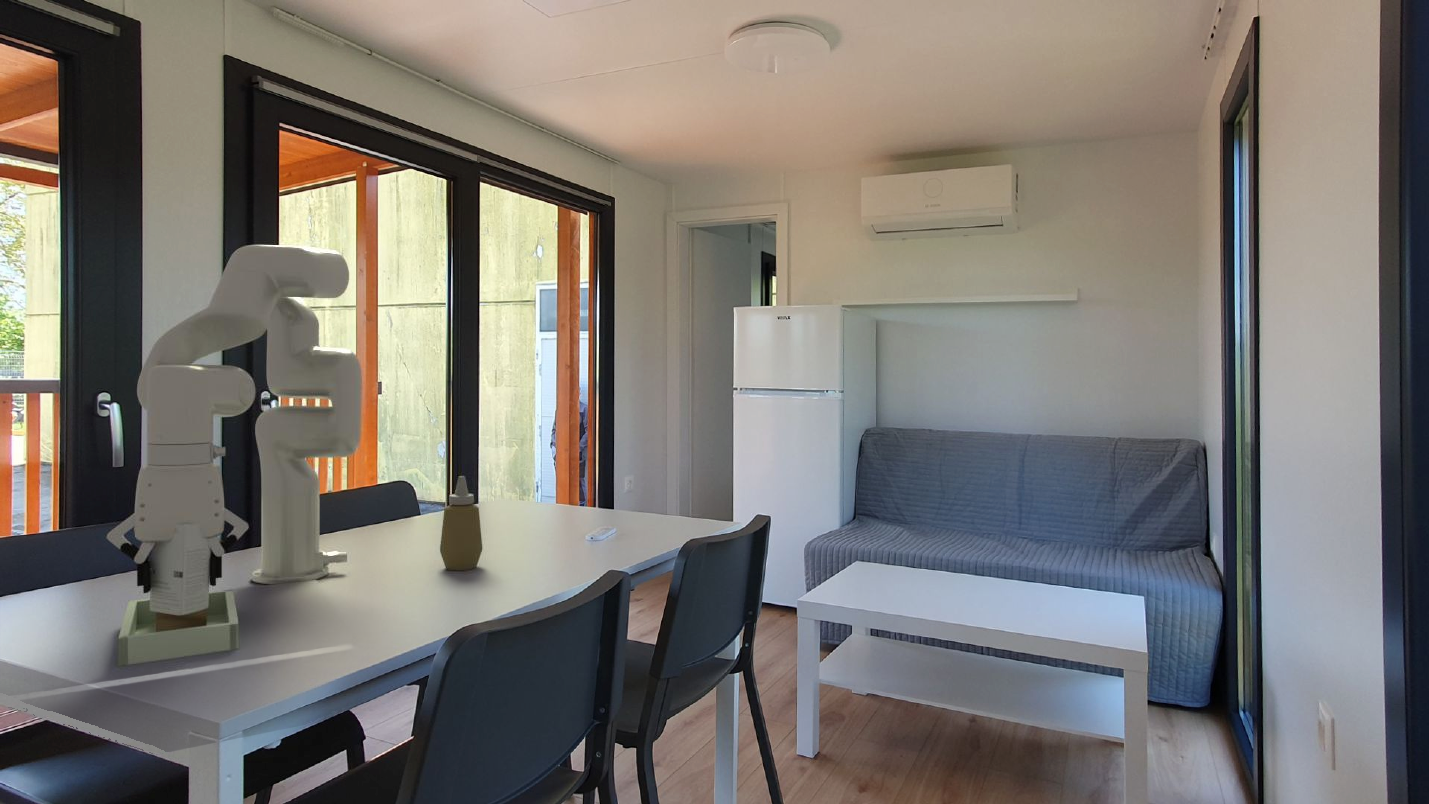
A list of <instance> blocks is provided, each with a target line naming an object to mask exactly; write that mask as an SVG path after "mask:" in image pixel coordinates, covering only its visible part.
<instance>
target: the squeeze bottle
mask: <svg viewBox="0 0 1429 804" xmlns="http://www.w3.org/2000/svg"><path fill="white" fill-rule="evenodd" d="M467 485H468V484H467V480H466V476H464V475H460V476H458V478H457V483H456V487H455V491H454V494H449V497H448V498H449V499H448V503H449V505H447V506H446V507H445V508H444V509H443V518H442V526H441V537H440V545H439V553H440V556H441V558H442V561H443V564H444V568H445V569H446V570H451V571H467V570H471V569H475V568H476V567H477V566H478V564H479V560H480V558H481V555H482V552H483V541H482V540H483V539H482V532H481V531H482V529H481V519H480V510H479V509H480V507H478V506H477V505H475V504H474V503H475V496H474V494H473V493H469V490H468V486H467Z"/></svg>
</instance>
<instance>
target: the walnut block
mask: <svg viewBox="0 0 1429 804" xmlns="http://www.w3.org/2000/svg"><path fill="white" fill-rule="evenodd" d="M200 626H207V608H206V609H203V610H200V611H197V612H193V613H189V614H185V615H173V614H166V613H160V612H156V632H161V631H169V630H177V629H184V628H192V627H200Z"/></svg>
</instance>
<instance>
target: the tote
mask: <svg viewBox="0 0 1429 804" xmlns="http://www.w3.org/2000/svg"><path fill="white" fill-rule="evenodd" d="M124 613H125V614H124V618H123V620H122V623H121V627H120V630H119V635H118V638H117V664H118V665H117V666H118V667H124V666H130V665H131V666H132V665H138V664H144V663H150V662H157V661H165V660H171V659H172V660H173V659H179V658H186V657H193V656H199V655H206V654H207V655H208V654H212V653H214V654H215V653H219V652H220V653H221V652H225V651H226V652H227V651H233V650H239V648H240V647H239V642H240V641H239V632H240V631H239V618H238V613H237V608H236V602H235V595H234V590H233V589H225V590H216V591H215V590H214V591H209V605H208V608H207V626H200V627H192V628H184V629H177V630H169V631H161V632H156V612H155V611H151V610H150V598H142V599H135V600H129V601H128V603H127V607H126V610H125V612H124Z"/></svg>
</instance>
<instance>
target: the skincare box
mask: <svg viewBox="0 0 1429 804" xmlns="http://www.w3.org/2000/svg"><path fill="white" fill-rule="evenodd" d="M208 539H209V538H207V539H206V538H202V537H201V532H200V525H199V524H197V523H195V524H180V525H176V526H175V533H174V538H173V540H171V541H170V542H158V543H155V544H154V546H153V547H152V549H151V559H150V560H151V589H150V592H149V599H150V610H151V611H155V612H160V613H166V614H173V615H185V614H189V613H193V612H197V611H200V610H203V609H206V608H208V605H209V592H210V555H211V550H212V549H211V548H210V546H209V544H208Z"/></svg>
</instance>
